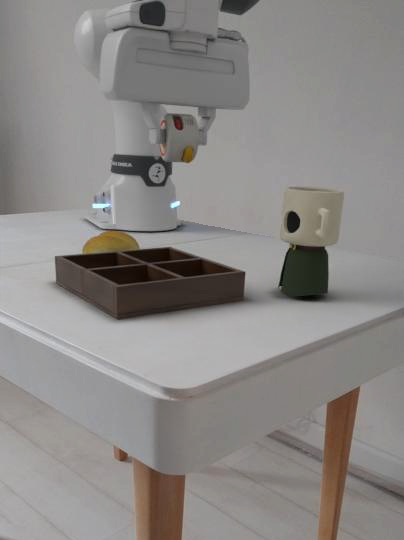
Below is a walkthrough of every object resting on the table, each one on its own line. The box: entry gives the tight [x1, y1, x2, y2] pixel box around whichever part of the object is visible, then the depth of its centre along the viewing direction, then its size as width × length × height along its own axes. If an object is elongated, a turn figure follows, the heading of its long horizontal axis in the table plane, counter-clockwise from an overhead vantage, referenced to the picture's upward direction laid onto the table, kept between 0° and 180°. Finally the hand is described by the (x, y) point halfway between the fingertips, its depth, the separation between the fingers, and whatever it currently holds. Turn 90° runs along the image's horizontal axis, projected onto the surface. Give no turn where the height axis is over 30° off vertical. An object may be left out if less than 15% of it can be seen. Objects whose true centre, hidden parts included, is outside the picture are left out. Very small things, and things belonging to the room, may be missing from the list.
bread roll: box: [81, 230, 141, 254], centre depth 87 cm, size 8×9×4 cm
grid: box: [54, 246, 247, 320], centre depth 70 cm, size 17×17×4 cm
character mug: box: [277, 186, 345, 299], centre depth 70 cm, size 11×7×13 cm, turn 9°
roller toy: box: [159, 112, 199, 164], centre depth 72 cm, size 4×6×6 cm
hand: (178, 144), depth 72 cm, fingers closed on roller toy, 5 cm apart
